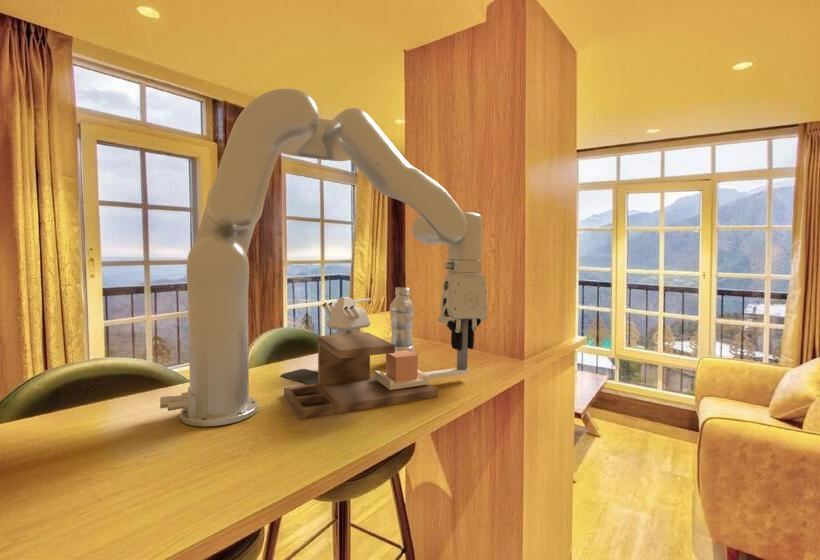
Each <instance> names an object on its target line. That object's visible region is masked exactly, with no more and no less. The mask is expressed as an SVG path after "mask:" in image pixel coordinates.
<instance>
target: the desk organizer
mask: <svg viewBox="0 0 820 560" xmlns="http://www.w3.org/2000/svg"><path fill="white" fill-rule="evenodd" d="M317 337H318V339H317V341H318V342H317V348H318V349H317V360H318V361H317V365H318V367H317V372H318V384H310V385H306V384H302V385H296V386H289V387H283V396H284V398H285V399H286V401H287V402H288V404H289V405H290V407H291V408H292V411H294V414H295V415H296V416H297V418H298V420H300V421H303V420H308V419H314V418H320V417H324V416H325V417H326V416H331V415H332V416H333V415H337V414H338V415H339V414H342V413H349V412H355V411H362V410H369V409H374V408H380V407H385V405H386V406H392V405H397V403H398V404H402V403H403V404H404V403H409V402H416V401H420V400H421V401H422V400H426V399H433V397H434V398H438V397H437V396H439V395H440V393H439V390H440V389H438V388H437V387H435V386H434V385H432V384H430V383H429V384H427V385H420V386H414V387H407V388H400V389H394V390H389V389H388V388H386V387H385V386H384V385H382V384H381V383H379V382H378V381H376V380H375V375H374V376H371V375H370V374H371V366H370V365H371V356H378V355H386V354H389V353H395V345H394V344H391V342H389V341H386V340H385V339H382V338H381V337H378V336H376V335H374V334H372V333H369V332H360V333H354V334H341V335H337V334H330V335H328V334H327V335H319V336H317ZM391 404H392V405H391Z"/></svg>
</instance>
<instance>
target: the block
mask: <svg viewBox="0 0 820 560" xmlns="http://www.w3.org/2000/svg"><path fill="white" fill-rule="evenodd" d="M418 357H419V355H418V354H417V353H415V352H414V353H412V352H410V351H408V350H404V351H395V353H389V354H385V373H386V376H388V377H389V378H391V379H392V380H394V381H396V382H398V381H405V380H412V379H417V375H418V370H419V369H418V367H419V359H418Z"/></svg>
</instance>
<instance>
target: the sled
mask: <svg viewBox="0 0 820 560" xmlns="http://www.w3.org/2000/svg"><path fill="white" fill-rule="evenodd" d="M460 332H461V333H462V349H461V350H456V367H454V368H446V369H439V370H433V371H432V370H431V371H421V370H420V369H418V375H417V379H412V380H405V381H398V382H396V381H394V380H392V379H391V378H389V377H388V376H386V372H384V373H383V372H381V371H379V370H374V376H375V380H376V381H378V382H379V383H381V384H382V385H384V386H385V387H386V388H388V389H389V390H394V389H400V388H407V387H414V386H420V385H427V384H430V380H433V379H440V378H447V377H454V376H461V375H467V374H470V373H469V372H470V370H469V369H470V368H468V359H469V358H468V351H469V348H468V319H461V326H460Z"/></svg>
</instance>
